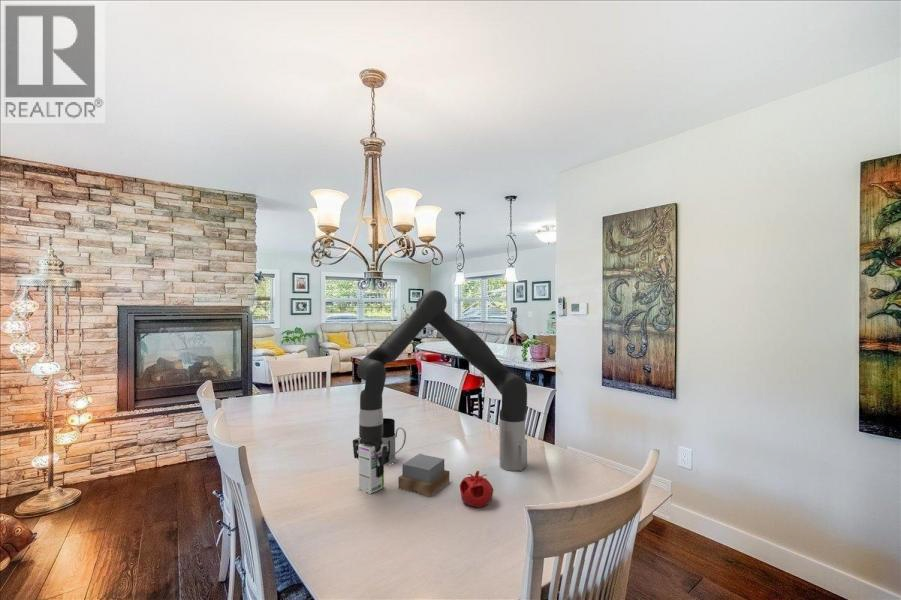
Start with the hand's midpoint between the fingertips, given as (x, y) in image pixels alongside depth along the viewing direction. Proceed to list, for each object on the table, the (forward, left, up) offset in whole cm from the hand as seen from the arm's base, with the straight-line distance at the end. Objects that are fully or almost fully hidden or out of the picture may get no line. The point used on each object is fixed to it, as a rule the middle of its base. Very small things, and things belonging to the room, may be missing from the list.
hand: (371, 474), depth 128 cm
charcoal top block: (-13, -11, -1) cm, 17 cm away
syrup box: (0, 0, -5) cm, 5 cm away
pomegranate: (-33, -9, -5) cm, 35 cm away
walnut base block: (-13, -11, -5) cm, 18 cm away
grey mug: (+8, -20, -5) cm, 22 cm away
